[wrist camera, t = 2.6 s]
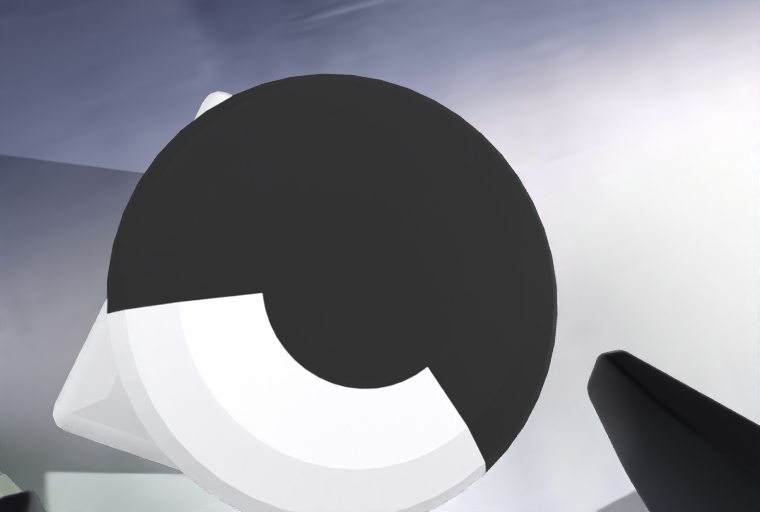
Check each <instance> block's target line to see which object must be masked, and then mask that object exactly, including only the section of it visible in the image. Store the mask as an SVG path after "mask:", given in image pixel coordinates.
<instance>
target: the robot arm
mask: <svg viewBox="0 0 760 512" xmlns="http://www.w3.org/2000/svg"><path fill="white" fill-rule="evenodd" d="M587 389H588V394H589V398H590V400H591V402H592V404H593V406H594V408H595V410H596V412H597V414H598V416H599V418H600V421H601V423H602V425H603V427H604V429H605V431H606V433H607V435H608V437H609V439H610V441H611V443H612V445H613V447H614V449H615V451H616V454H617V456H618V458H619V460H620V462H621V464H622V466H623V467H624V469H625V471H626V473H627V475H628V477H629V478H630V480H631V482H632V484H633V485H634V487H635V489H636V490H637V492H638V494H639V495H640V497H641V499H642V500H643V502H644V503H645V505H646V507H647V508H648V510H649V512H760V425H758V424H756V423H754V422H752V421H751V420H749V419H747V418H745V417H743V416H742V415H740V414H738V413H736V412H734V411H733V410H731V409H729V408H727V407H725V406H724V405H722V404H720V403H718V402H716V401H715V400H713V399H711V398H709V397H707V396H706V395H704V394H702V393H700V392H698V391H697V390H695V389H693V388H691V387H689V386H688V385H686V384H684V383H682V382H680V381H679V380H677V379H675V378H673V377H671V376H670V375H668V374H666V373H664V372H662V371H661V370H659V369H657V368H655V367H653V366H652V365H650V364H648V363H646V362H644V361H643V360H641V359H639V358H637V357H635V356H634V355H632V354H630V353H628V352H626V351H623V350H614V351H610V352H606V353H602V354H601V355H599V356H598V358H597V360H596V363H595V365H594V368H593V371H592V373H591V376H590V379H589V381H588V386H587ZM0 512H46V510H45V508H44V507H43V505H42V503H41V501H40V499H39V497H38V495H37V494H36V492H34V491H32V490H26V491H22V492H18V493H14V494H9V495H5V496H3V497H1V498H0Z"/></svg>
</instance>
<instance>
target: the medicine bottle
mask: <svg viewBox="0 0 760 512" xmlns="http://www.w3.org/2000/svg"><path fill="white" fill-rule="evenodd" d="M556 324H557V284H556V278H555V271H554V265H553V259H552V254H551V250H550V247H549V243H548V240H547V237H546V233H545V230H544V227H543V224H542V222H541V220H540V217H539V215H538V213H537V210H536V208H535V206H534V203H533V201H532V199H531V198H530V196H529V194H528V192H527V191H526V189H525V187H524V185H523V184H522V182H521V180H520V179H519V177H518V176H517V174H516V173H515V172H514V170H513V169H512V168H511V166H510V165H509V164H508V162H507V161H506V160H505V158H504V157H503V156H502V154H501V153H500V152H499V151H498V150H497V149H496V148H495V147H494V146H493V145H492V144H491V143H490V142H489V141H488V140H487V139H486V138H485V137H484V136H483V135H482V134H481V133H480V132H479V131H478V130H476V129H475V128H474V127H473V126H471V125H470V124H469V123H468V122H467V121H465V120H464V119H463V118H462V117H460V116H459V115H457V114H456V113H454V112H453V111H451V110H449V109H448V108H446V107H445V106H443V105H441V104H440V103H438V102H436V101H435V100H433V99H430V98H428V97H426V96H424V95H422V94H419V93H417V92H415V91H413V90H411V89H408V88H405V87H402V86H399V85H396V84H392V83H389V82H386V81H383V80H379V79H373V78H367V77H361V76H355V75H341V74H315V75H305V76H295V77H289V78H285V79H281V80H277V81H272V82H268V83H264V84H261V85H258V86H256V87H253V88H251V89H248V90H246V91H243V92H241V93H238V94H236V95H233V96H232V95H230V94H228V93H225V92H220V91H217V92H214V93H211V94H210V95H209V96H208V97H207V98H206V99H205V100H204V101H203V103H202V105H201V107H200V109H199V111H198V113H197V115H196V117H195V119H194V121H192V122H191V123H190V124H189V125H187V126H186V127H185V128H184V129H182V130H181V131H180V132H179V133H178V134H177V135H176V136H175V137H174V138H173V139H172V140H171V141H170V142H169V143H168V145H167V146H166V147H165V148H164V149H163V150H162V151H161V152H160V153H159V154H158V155H157V157H156V158H155V159H154V161H153V162H152V164H151V165H150V167H149V168H148V169H147V171H146V172H145V174H144V175H143V176H142V178H141V179H140V181H139V182H138V184H137V186H136V188H135V190H134V192H133V194H132V196H131V198H130V200H129V202H128V204H127V206H126V208H125V210H124V213H123V216H122V219H121V222H120V225H119V228H118V231H117V234H116V237H115V240H114V243H113V248H112V254H111V260H110V266H109V272H108V278H107V299H106V301H105V303H104V305H103V307H102V309H101V311H100V313H99V315H98V317H97V319H96V321H95V323H94V325H93V327H92V329H91V331H90V333H89V335H88V337H87V339H86V341H85V343H84V345H83V347H82V349H81V352H80V354H79V356H78V358H77V360H76V362H75V364H74V366H73V368H72V370H71V372H70V374H69V376H68V378H67V380H66V382H65V384H64V386H63V388H62V390H61V392H60V394H59V396H58V398H57V400H56V402H55V405H54V410H53V417H54V420H55V422H56V425H57V426H59V427H60V428H62V429H63V430H64V431H66V432H69V433H72V434H75V435H78V436H81V437H84V438H87V439H89V440H92V441H95V442H98V443H101V444H104V445H107V446H110V447H113V448H116V449H119V450H122V451H125V452H128V453H131V454H134V455H136V456H139V457H142V458H145V459H148V460H151V461H154V462H157V463H160V464H163V465H166V466H169V467H172V468H175V469H178V470H181V471H182V472H183V473H184V474H185V475H187V476H188V477H189V478H190V479H192V480H193V481H194V482H195V483H197V484H198V485H199V486H201V487H202V488H203V489H204V490H206V491H207V492H208V493H209V494H211V495H213V496H215V497H216V498H218V499H220V500H222V501H223V502H225V503H227V504H229V505H231V506H232V507H234V508H236V509H238V510H239V511H242V512H428V511H430V510H433V509H435V508H436V507H438V506H440V505H442V504H443V503H445V502H447V501H448V500H450V499H452V498H453V497H455V496H457V495H458V494H460V493H462V492H463V491H464V490H465V489H467V488H468V487H469V486H470V485H472V484H473V483H474V482H475V481H476V480H478V479H479V478H480V477H481V476H483V475H484V474H485V473H486V472H487V471H488V470H489V469H490V468H491V467H492V466H493V465H494V464H495V463H496V462H497V460H498V459H499V458H500V457H501V456H502V455H503V454H504V453H505V452H506V451H507V449H508V448H509V447H510V445H511V444H512V442H513V441H514V440H515V438H516V437H517V435H518V434H519V432H520V431H521V430H522V428H523V427H524V425H525V423H526V421H527V420H528V418H529V416H530V414H531V412H532V410H533V408H534V406H535V404H536V402H537V400H538V398H539V395H540V393H541V390H542V387H543V384H544V382H545V379H546V376H547V373H548V370H549V366H550V361H551V357H552V352H553V348H554V344H555V334H556Z"/></svg>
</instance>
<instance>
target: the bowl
mask: <svg viewBox="0 0 760 512" xmlns="http://www.w3.org/2000/svg"><path fill="white" fill-rule="evenodd" d="M18 492H22V490H21V489H20V488H19V487H18V486H17V485H16V484H15V483H14V482H13V481H12V480H11V479H10V478H9V477H8V476H7V475H6V474H2V472H1V470H0V498H1V497H3V496H5V495H9V494H14V493H18Z"/></svg>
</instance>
